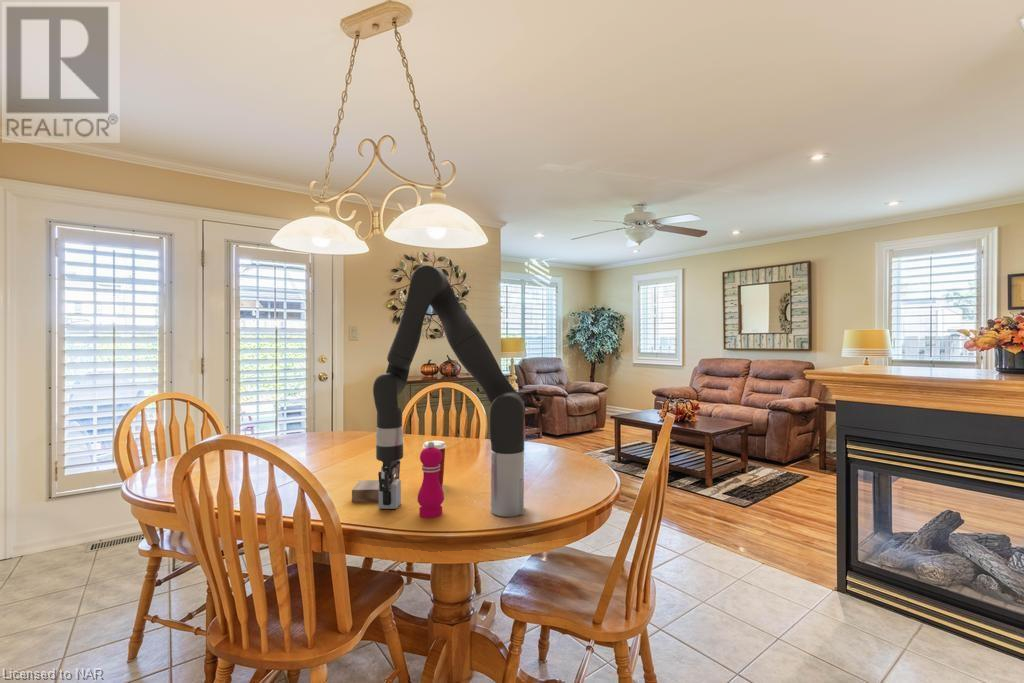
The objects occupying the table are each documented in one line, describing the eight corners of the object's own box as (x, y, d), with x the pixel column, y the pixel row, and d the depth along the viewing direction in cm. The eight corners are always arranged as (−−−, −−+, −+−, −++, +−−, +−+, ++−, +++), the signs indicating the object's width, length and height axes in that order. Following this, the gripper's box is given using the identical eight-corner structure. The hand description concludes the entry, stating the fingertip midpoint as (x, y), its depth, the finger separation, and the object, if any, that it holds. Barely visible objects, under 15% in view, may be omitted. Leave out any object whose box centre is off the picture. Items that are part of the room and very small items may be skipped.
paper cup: (449, 482, 162) (449, 441, 161) (440, 490, 154) (440, 446, 154) (428, 480, 164) (428, 439, 164) (417, 487, 156) (417, 444, 156)
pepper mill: (412, 513, 134) (412, 441, 134) (434, 507, 139) (434, 437, 139) (427, 521, 129) (427, 446, 128) (449, 514, 134) (449, 441, 134)
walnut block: (388, 492, 152) (388, 480, 152) (382, 502, 143) (382, 489, 143) (359, 493, 152) (359, 480, 152) (351, 503, 143) (351, 489, 143)
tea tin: (400, 502, 142) (400, 478, 142) (396, 508, 137) (396, 484, 137) (383, 502, 142) (383, 478, 142) (378, 508, 137) (378, 483, 137)
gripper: (395, 448, 132) (396, 510, 132) (408, 437, 146) (409, 493, 146) (368, 448, 132) (368, 510, 132) (384, 436, 146) (384, 493, 147)
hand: (389, 501), depth 139 cm, fingers closed on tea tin, 5 cm apart
